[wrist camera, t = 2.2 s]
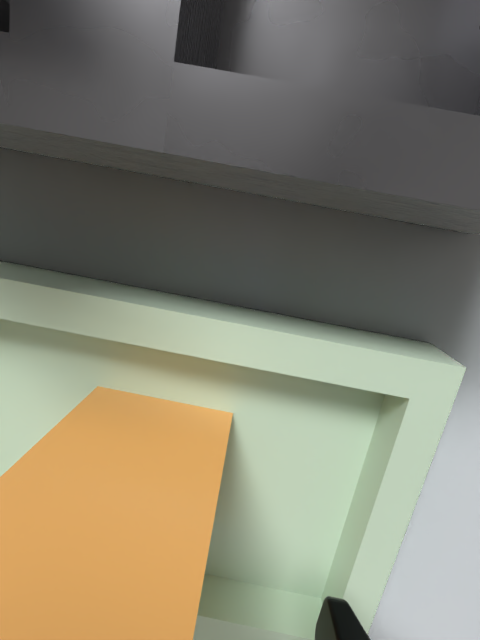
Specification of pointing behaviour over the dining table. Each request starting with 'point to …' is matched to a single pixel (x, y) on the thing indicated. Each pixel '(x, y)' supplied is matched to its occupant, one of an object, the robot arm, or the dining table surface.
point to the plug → (111, 521)
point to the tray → (246, 431)
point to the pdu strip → (259, 97)
